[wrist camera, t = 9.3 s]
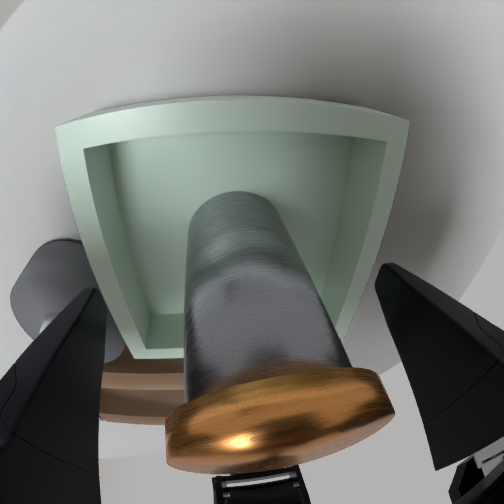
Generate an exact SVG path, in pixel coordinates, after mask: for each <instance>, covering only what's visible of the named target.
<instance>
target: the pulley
mask: <svg viewBox="0 0 504 504" xmlns="http://www.w3.org/2000/svg"><path fill="white" fill-rule="evenodd" d="M87 287H96V288H98V289H99V291H100V293H101V290H100V288H99V286H98V283H97V281H96V278H95V276H94V273H93V271H92V268H91V265H90V263H89V260H88V257H87V255H86V252H85V249H84V246H83V245H82V244H79V243H75V242H71V241H53V242H49V243H47V244H44V245H43V246H41V247H40V248H39V249H38V250H37V251H36V252H35V253H34V255H33V256H32V258H31V259H30V261H29V262H28V264H27V265H26V267H25V268H24V270H23V272H22V273H21V275H20V276H19V278H18V280H17V281H16V283H15V285H14V286H13V288H12V291H11V296H10V301H11V307H12V310H13V313H14V315H15V317H16V319H17V321H18V322H19V324H20V326H21V327H22V328H23V329H24V331H25V332H26V333H27V334H28V335H29V336H30V337H31V338H32V339H33V340H35V339H36V337H37V336H38V335H39V334H40V333H41V332H42V331H43V330H44V329H45V328H46V327H47V326H48V324H49V323H50V322H51V321H52V320H53V319H54V318H55V317H56V316H57V315H58V314H59V313H60V312H61V311H62V310H63V309H64V308H65V307H66V306H67V305H68V304H69V303H70V302H71V301H72V300H73V299H74V298H75V297H76V296H77V295H78V294H79V293H80V292H81V291H82V290H83V289H84V288H87ZM101 296H102V298H103V300H104V302H105V299H104V297H103V295H102V293H101ZM105 305H106V307H107V323H106V340H105V359H104V363H107V362H111V361H113V360H115V359H116V358H117V357H119V356H120V354H121V353H122V351H123V349H124V345H125V341H124V339H123V337H122V335H121V333H120V331H119V329H118V327H117V325H116V323H115V321H114V319H113V317H112V315H111V313H110V310H109V308H108V306H107V304H106V302H105Z"/></svg>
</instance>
